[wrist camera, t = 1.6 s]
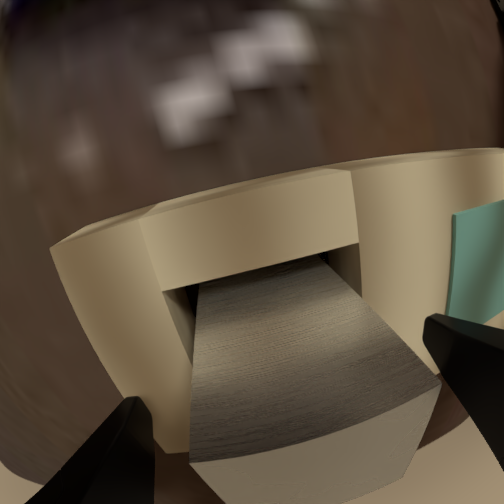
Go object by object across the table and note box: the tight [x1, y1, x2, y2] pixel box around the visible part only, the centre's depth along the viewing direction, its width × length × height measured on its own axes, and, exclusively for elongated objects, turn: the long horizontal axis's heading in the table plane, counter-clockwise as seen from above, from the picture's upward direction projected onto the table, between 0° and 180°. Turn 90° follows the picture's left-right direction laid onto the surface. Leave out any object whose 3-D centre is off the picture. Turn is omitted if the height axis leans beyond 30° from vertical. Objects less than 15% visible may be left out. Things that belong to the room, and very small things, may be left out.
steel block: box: [189, 254, 442, 504], centre depth 8 cm, size 4×4×8 cm
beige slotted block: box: [49, 148, 504, 454], centre depth 10 cm, size 21×10×3 cm, turn 102°
